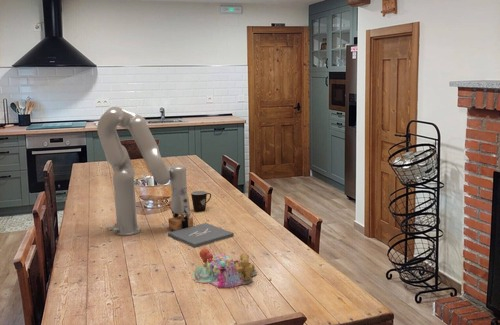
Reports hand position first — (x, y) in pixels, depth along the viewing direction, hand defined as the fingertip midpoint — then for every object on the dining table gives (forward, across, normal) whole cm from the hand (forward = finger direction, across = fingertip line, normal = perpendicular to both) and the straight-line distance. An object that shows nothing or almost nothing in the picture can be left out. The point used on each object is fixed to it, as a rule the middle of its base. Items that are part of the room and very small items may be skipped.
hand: (181, 226), depth 259 cm
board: (+1, -17, 0) cm, 17 cm away
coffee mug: (+1, +18, -26) cm, 32 cm away
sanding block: (+1, 0, 0) cm, 1 cm away
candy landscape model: (+2, -61, +20) cm, 64 cm away
